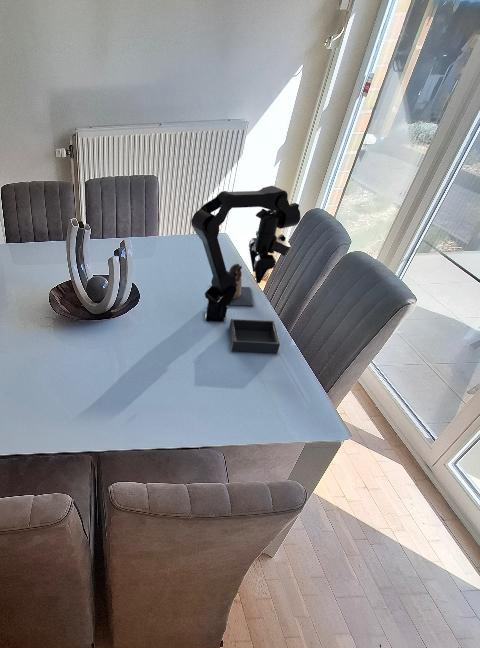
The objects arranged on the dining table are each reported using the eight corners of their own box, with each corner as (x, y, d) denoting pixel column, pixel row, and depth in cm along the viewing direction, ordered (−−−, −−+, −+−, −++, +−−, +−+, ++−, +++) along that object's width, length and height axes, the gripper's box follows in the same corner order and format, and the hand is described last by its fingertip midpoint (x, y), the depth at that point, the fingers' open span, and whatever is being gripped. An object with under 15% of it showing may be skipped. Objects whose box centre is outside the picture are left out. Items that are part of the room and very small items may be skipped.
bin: (231, 351, 151) (233, 341, 149) (228, 329, 161) (230, 318, 158) (276, 354, 150) (280, 343, 147) (271, 331, 160) (274, 320, 157)
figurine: (233, 289, 181) (240, 258, 172) (243, 297, 176) (250, 266, 168) (218, 292, 179) (223, 261, 171) (227, 300, 175) (233, 269, 166)
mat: (212, 304, 174) (212, 303, 173) (210, 286, 184) (211, 285, 183) (252, 306, 172) (252, 305, 172) (249, 288, 182) (249, 287, 182)
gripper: (297, 242, 144) (284, 289, 155) (286, 220, 156) (275, 266, 168) (261, 241, 145) (250, 289, 156) (253, 220, 157) (244, 265, 169)
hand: (256, 277), depth 162 cm, fingers open, 9 cm apart
